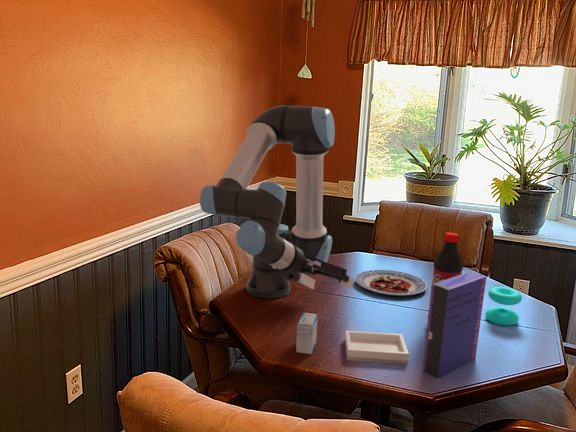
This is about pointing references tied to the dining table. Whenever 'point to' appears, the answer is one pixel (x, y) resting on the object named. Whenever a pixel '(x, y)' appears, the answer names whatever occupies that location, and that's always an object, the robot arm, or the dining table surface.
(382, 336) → the tray
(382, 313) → the dining table surface
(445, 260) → the cola bottle
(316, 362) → the dining table surface
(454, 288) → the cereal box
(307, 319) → the medicine box
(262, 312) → the dining table surface
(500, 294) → the donuts
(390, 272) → the ceramic plate
